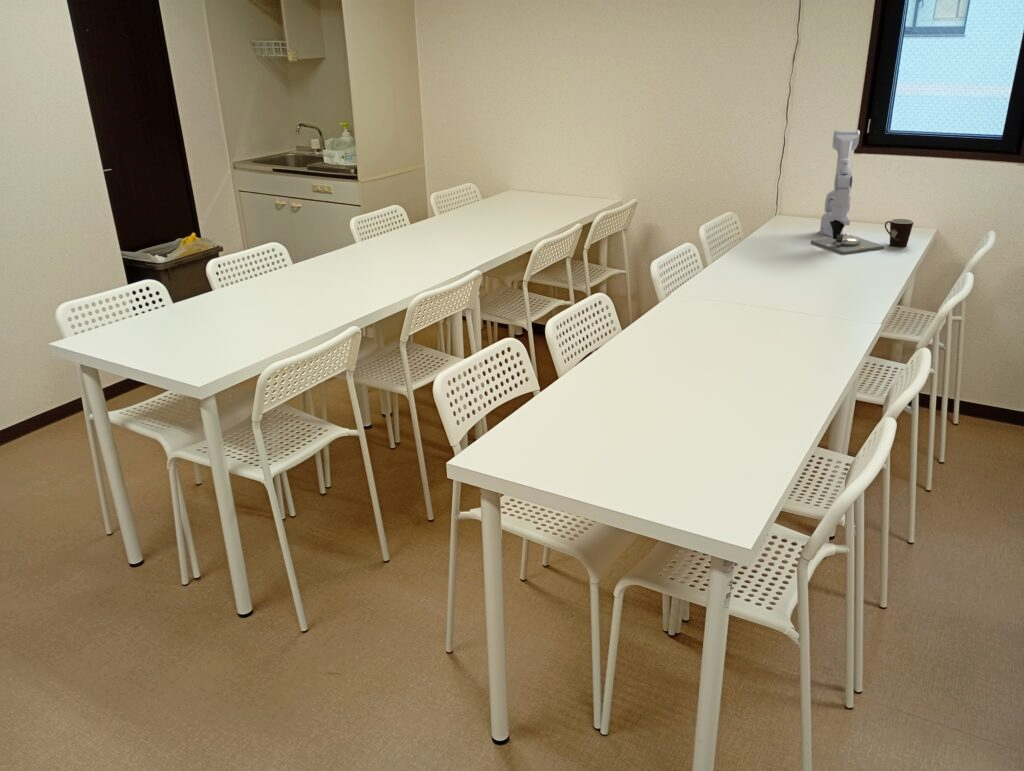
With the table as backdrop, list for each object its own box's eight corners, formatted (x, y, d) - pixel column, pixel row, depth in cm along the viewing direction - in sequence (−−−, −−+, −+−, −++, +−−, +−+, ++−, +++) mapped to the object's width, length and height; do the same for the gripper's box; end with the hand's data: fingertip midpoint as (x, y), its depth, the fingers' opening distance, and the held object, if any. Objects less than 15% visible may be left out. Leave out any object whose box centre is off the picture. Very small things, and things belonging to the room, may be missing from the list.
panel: (810, 243, 346) (811, 239, 346) (850, 237, 352) (850, 234, 352) (843, 254, 329) (843, 251, 328) (884, 248, 335) (884, 245, 334)
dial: (842, 238, 347) (843, 226, 344) (865, 242, 340) (866, 230, 338) (825, 244, 339) (826, 232, 337) (848, 249, 332) (850, 236, 330)
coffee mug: (913, 247, 335) (917, 223, 331) (891, 248, 335) (895, 223, 331) (901, 240, 345) (905, 216, 341) (880, 241, 346) (884, 217, 341)
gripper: (822, 202, 337) (818, 235, 343) (839, 210, 324) (835, 244, 330) (839, 201, 338) (834, 234, 343) (856, 208, 325) (851, 242, 330)
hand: (836, 238), depth 337 cm, fingers closed, pressing on dial
